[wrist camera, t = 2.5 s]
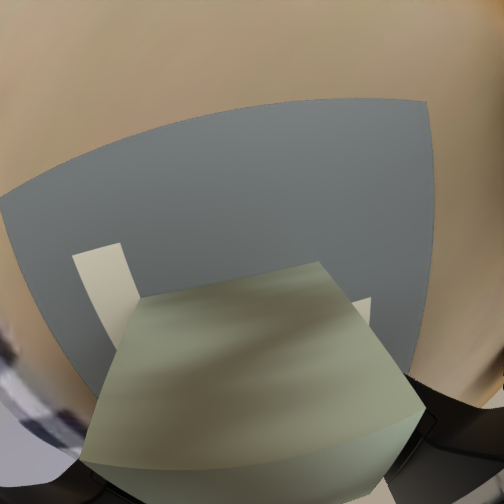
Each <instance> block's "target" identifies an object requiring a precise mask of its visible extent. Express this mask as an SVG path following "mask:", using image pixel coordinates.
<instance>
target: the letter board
mask: <svg viewBox="0 0 504 504" xmlns="http://www.w3.org/2000/svg"><path fill="white" fill-rule="evenodd" d="M0 209H1V213H2V217H3V220H4V224H5V227H6V230H7V233H8V237H9V240H10V243H11V245H12V248H13V251H14V254H15V256H16V259H17V262H18V264H19V267H20V269H21V272H22V274H23V276H24V279H25V281H26V283H27V286H28V288H29V290H30V292H31V294H32V296H33V298H34V300H35V302H36V305H37V306H38V308H39V310H40V312H41V314H42V316H43V318H44V320H45V322H46V323H47V325H48V327H49V329H50V331H51V332H52V334H53V336H54V337H55V339H56V341H57V342H58V344H59V346H60V347H61V349H62V350H63V352H64V354H65V355H66V357H67V358H68V360H69V361H70V363H71V364H72V366H73V367H74V369H75V370H76V371H77V373H78V374H79V376H80V377H81V378H82V380H83V381H84V382H85V384H86V385H87V386H88V388H89V389H90V390H91V392H92V393H93V394H94V395H95V397H96V398H97V399H98V398H99V395H100V393H101V390H102V387H103V385H104V382H105V379H106V377H107V374H108V371H109V369H110V366H111V364H112V361H113V359H114V356H115V354H116V352H117V349H118V347H119V344H120V342H121V340H122V337H123V335H124V333H125V330H126V328H127V326H128V324H129V321H130V319H131V317H132V315H133V313H134V310H135V308H136V306H137V304H138V302H139V300H140V298H143V297H148V296H154V295H159V294H164V293H169V292H175V291H180V290H185V289H190V288H195V287H200V286H205V285H210V284H215V283H220V282H225V281H230V280H235V279H239V278H244V277H249V276H254V275H258V274H263V273H268V272H272V271H277V270H281V269H286V268H291V267H295V266H300V265H304V264H308V263H313V262H317V261H319V262H320V263H321V265H322V266H323V267H324V268H325V270H326V271H327V272H328V273H329V275H330V276H331V277H332V278H333V280H334V281H335V282H336V283H337V285H338V286H339V287H340V289H341V290H342V291H343V292H344V294H345V295H346V296H347V298H348V299H349V300H350V302H351V303H352V304H353V305H354V307H355V308H356V309H357V311H358V312H359V313H360V315H361V316H362V317H363V319H364V320H365V321H366V323H367V324H368V325H369V327H370V328H371V329H372V331H373V332H374V334H375V335H376V336H377V338H378V339H379V340H380V342H381V343H382V345H383V346H384V347H385V349H386V350H387V352H388V353H389V354H390V356H391V357H392V359H393V360H394V361H395V363H396V364H397V366H398V367H399V369H400V370H401V371H402V372H403V373H405V374H406V375H408V372H409V369H410V365H411V362H412V358H413V355H414V351H415V347H416V343H417V339H418V335H419V331H420V326H421V321H422V317H423V312H424V306H425V301H426V295H427V288H428V282H429V274H430V266H431V257H432V246H433V231H434V165H433V150H432V140H431V131H430V123H429V115H428V109H427V103H426V102H422V101H411V100H398V99H373V98H345V99H320V100H305V101H294V102H284V103H275V104H267V105H260V106H253V107H247V108H241V109H235V110H230V111H225V112H219V113H215V114H210V115H205V116H201V117H196V118H192V119H188V120H184V121H180V122H176V123H173V124H169V125H165V126H162V127H158V128H155V129H152V130H149V131H145V132H142V133H139V134H136V135H133V136H130V137H127V138H124V139H121V140H119V141H116V142H113V143H110V144H108V145H105V146H102V147H100V148H97V149H95V150H92V151H90V152H88V153H85V154H83V155H80V156H78V157H76V158H74V159H71V160H69V161H67V162H65V163H63V164H60V165H58V166H56V167H54V168H52V169H50V170H48V171H46V172H44V173H42V174H40V175H38V176H36V177H35V178H33V179H31V180H29V181H27V182H25V183H24V184H22V185H20V186H18V187H17V188H15V189H13V190H12V191H10V192H8V193H7V194H5V195H3V196H2V197H0Z"/></svg>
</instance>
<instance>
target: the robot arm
mask: <svg viewBox="0 0 504 504" xmlns="http://www.w3.org/2000/svg"><path fill="white" fill-rule="evenodd" d="M402 373H403V372H402ZM403 374H404V376H405V377H406V379H407V380H408V382H409V383H410V385H411V386H412V387H413V389H414V390H415V392H416V393H417V395H418V396H419V398H420V399H421V401H422V402H423V404H424V406H425V407H426V409H425V411H424V413H423V415H422V417H421V419H420V420H419V422H418V424H417V426H416V428H415V429H414V431H413V433H412V434H411V436H410V438H409V439H408V441H407V443H406V444H405V446H404V448H403V449H402V451H401V452H400V454H399V455H398V457H397V458H396V460H395V461H394V463H393V464H392V465H391V467H390V468H389V470H388V471H387V472H386V474H385V475H384V478H385V480H386V483H387V484H388V487H389V489H390V492H391V494H392V496H393V498H394V500H395V502H396V504H504V407H500V408H493V409H481V408H477V407H474V406H471V405H468V404H466V403H463V402H461V401H458V400H456V399H453V398H451V397H448V396H446V395H444V394H442V393H439V392H437V391H435V390H433V389H431V388H429V387H427V386H426V385H424V384H422V383H420V382H418V381H415V379H413V378H411V377H410V376H408V375H406V374H405V373H403ZM79 458H80V457H79ZM79 458H78V459H77V460H76V461H75V462H74V463H73V464H72V465H71V466H70V467H69V468H68V469H67V470H66V471H65V472H64V473H63V474H62V475H61V476H59V477H58V478H57V479H55V480H53V481H52V482H48V483H44V484H37V485H30V486H20V487H0V504H146V503H144V502H142V501H141V500H139V499H137V498H135V497H134V496H132V495H130V494H128V493H127V492H125V491H123V490H122V489H120V488H118V487H117V486H115V485H114V484H112V483H111V482H109V481H108V480H106V479H105V478H103V477H102V476H100V475H99V474H97V473H96V472H95V471H93V470H92V469H91V468H89V467H88V466H87V465H85V464H84V463H83V462H81V461H80V460H79Z"/></svg>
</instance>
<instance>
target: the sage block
mask: <svg viewBox="0 0 504 504" xmlns="http://www.w3.org/2000/svg"><path fill="white" fill-rule="evenodd" d="M425 409H426V407H425V406H424V404H423V402H422V401H421V399H420V398H419V396H418V395H417V393H416V392H415V390H414V389H413V387H412V386H411V385H410V383H409V382H408V380H407V379H406V377H405V376H404V374H403V373H402V371H401V370H400V369H399V367H398V366H397V364H396V363H395V361H394V360H393V359H392V357H391V356H390V354H389V353H388V352H387V350H386V349H385V347H384V346H383V345H382V343H381V342H380V340H379V339H378V338H377V336H376V335H375V334H374V332H373V331H372V329H371V328H370V327H369V325H368V324H367V323H366V321H365V320H364V319H363V317H362V316H361V315H360V313H359V312H358V311H357V309H356V308H355V307H354V305H353V304H352V303H351V302H350V300H349V299H348V298H347V296H346V295H345V294H344V292H343V291H342V290H341V289H340V287H339V286H338V285H337V283H336V282H335V281H334V280H333V278H332V277H331V276H330V275H329V273H328V272H327V271H326V270H325V268H324V267H323V266H322V265H321V263H320V262H319V261H317V262H313V263H308V264H304V265H300V266H295V267H291V268H286V269H281V270H277V271H272V272H268V273H263V274H258V275H254V276H249V277H244V278H239V279H235V280H230V281H225V282H220V283H215V284H210V285H205V286H200V287H195V288H190V289H185V290H180V291H175V292H169V293H164V294H159V295H154V296H148V297H143V298H140V300H139V302H138V304H137V306H136V308H135V310H134V313H133V315H132V317H131V319H130V321H129V324H128V326H127V328H126V330H125V333H124V335H123V337H122V340H121V342H120V344H119V347H118V349H117V352H116V354H115V356H114V359H113V361H112V364H111V366H110V369H109V371H108V374H107V377H106V379H105V382H104V385H103V387H102V390H101V393H100V395H99V398H98V401H97V404H96V407H95V410H94V413H93V416H92V419H91V422H90V425H89V428H88V431H87V434H86V438H85V441H84V444H83V448H82V451H81V455H80V458H79V460H80V461H81V462H83V463H84V464H85V465H87V466H88V467H89V468H91V469H92V470H93V471H95V472H96V473H97V474H99V475H100V476H102V477H103V478H105V479H106V480H108V481H109V482H111V483H112V484H114V485H115V486H117V487H118V488H120V489H122V490H123V491H125V492H127V493H128V494H130V495H132V496H134V497H135V498H137V499H139V500H141V501H142V502H144V503H146V504H343V503H346V502H349V501H352V500H355V499H358V498H361V497H363V496H366V495H369V494H370V493H371V492H372V491H373V489H374V488H375V487H376V486H377V484H378V483H379V482H380V481H381V479H382V477H384V475H385V474H386V472H387V471H388V470H389V468H390V467H391V465H392V464H393V463H394V461H395V460H396V458H397V457H398V455H399V454H400V452H401V451H402V449H403V448H404V446H405V444H406V443H407V441H408V439H409V438H410V436H411V434H412V433H413V431H414V429H415V428H416V426H417V424H418V422H419V420H420V419H421V417H422V415H423V413H424V411H425Z"/></svg>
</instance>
